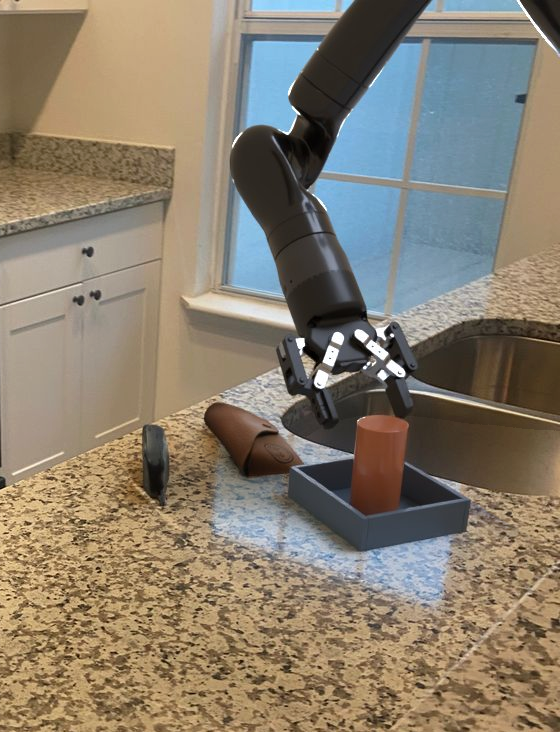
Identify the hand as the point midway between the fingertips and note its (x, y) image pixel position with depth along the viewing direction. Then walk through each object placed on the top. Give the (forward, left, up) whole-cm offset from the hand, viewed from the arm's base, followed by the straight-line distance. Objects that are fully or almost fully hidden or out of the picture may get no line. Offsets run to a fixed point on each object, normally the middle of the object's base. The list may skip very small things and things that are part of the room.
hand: (369, 420), depth 106 cm
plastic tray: (0, +2, -10) cm, 10 cm away
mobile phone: (+18, -15, -10) cm, 25 cm away
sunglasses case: (+3, -19, -10) cm, 22 cm away
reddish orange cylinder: (0, +2, -9) cm, 10 cm away
